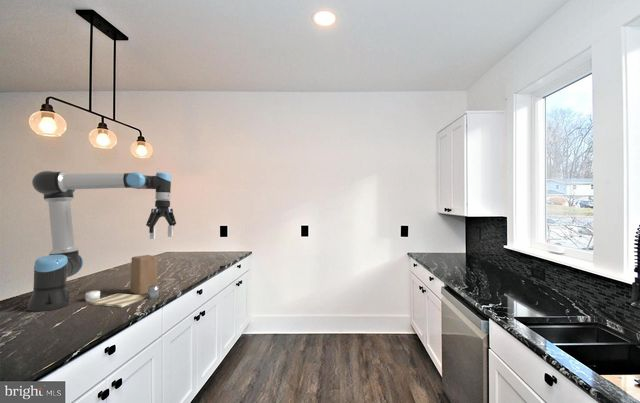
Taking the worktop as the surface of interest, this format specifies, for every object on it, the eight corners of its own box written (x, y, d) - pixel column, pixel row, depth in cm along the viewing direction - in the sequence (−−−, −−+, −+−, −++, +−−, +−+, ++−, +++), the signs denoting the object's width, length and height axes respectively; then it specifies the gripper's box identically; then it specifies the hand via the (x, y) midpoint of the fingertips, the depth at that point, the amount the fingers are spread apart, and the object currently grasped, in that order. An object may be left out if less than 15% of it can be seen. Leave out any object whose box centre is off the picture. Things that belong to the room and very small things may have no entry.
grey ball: (145, 298, 158) (146, 287, 158) (152, 295, 163) (152, 284, 163) (154, 299, 157) (154, 287, 157) (160, 296, 162) (161, 285, 162)
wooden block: (157, 291, 170) (158, 256, 171) (138, 296, 162) (140, 258, 162) (147, 289, 176) (149, 254, 176) (129, 292, 167) (130, 256, 168)
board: (89, 304, 147) (90, 302, 147) (117, 295, 163) (117, 293, 163) (121, 307, 143) (121, 305, 144) (146, 297, 159) (147, 295, 159)
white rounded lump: (82, 301, 151) (82, 293, 151) (93, 297, 157) (93, 290, 157) (92, 302, 150) (92, 294, 150) (102, 298, 156) (103, 291, 156)
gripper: (151, 199, 157) (150, 240, 157) (183, 200, 181) (182, 236, 181) (139, 199, 159) (137, 239, 158) (172, 200, 183) (171, 235, 183)
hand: (161, 237), depth 170 cm, fingers open, 13 cm apart
